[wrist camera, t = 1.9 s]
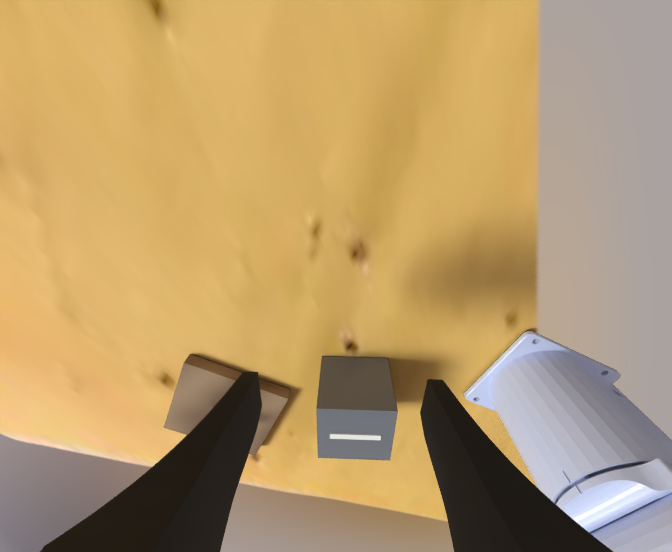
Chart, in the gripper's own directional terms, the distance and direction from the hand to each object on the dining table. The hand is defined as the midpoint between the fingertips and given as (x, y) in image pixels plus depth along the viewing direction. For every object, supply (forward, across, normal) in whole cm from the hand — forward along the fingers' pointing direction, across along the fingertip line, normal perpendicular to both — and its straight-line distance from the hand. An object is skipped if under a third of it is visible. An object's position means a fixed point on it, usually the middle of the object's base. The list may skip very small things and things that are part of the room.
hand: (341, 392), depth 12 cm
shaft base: (+9, +10, +13) cm, 19 cm away
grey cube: (+9, -1, +9) cm, 13 cm away
